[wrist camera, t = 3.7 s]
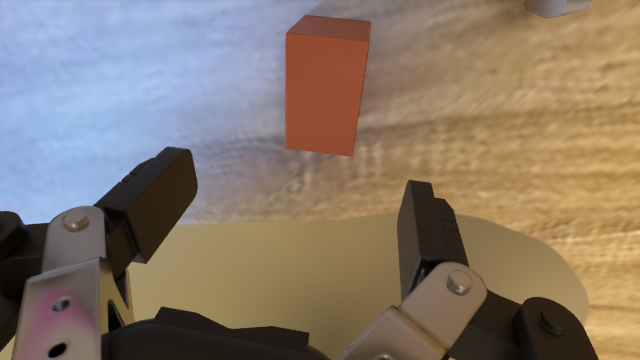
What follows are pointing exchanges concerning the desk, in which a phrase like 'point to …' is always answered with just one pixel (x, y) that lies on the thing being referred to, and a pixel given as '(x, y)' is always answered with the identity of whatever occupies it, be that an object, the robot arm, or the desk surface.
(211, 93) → the desk surface
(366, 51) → the block
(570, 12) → the caliper
